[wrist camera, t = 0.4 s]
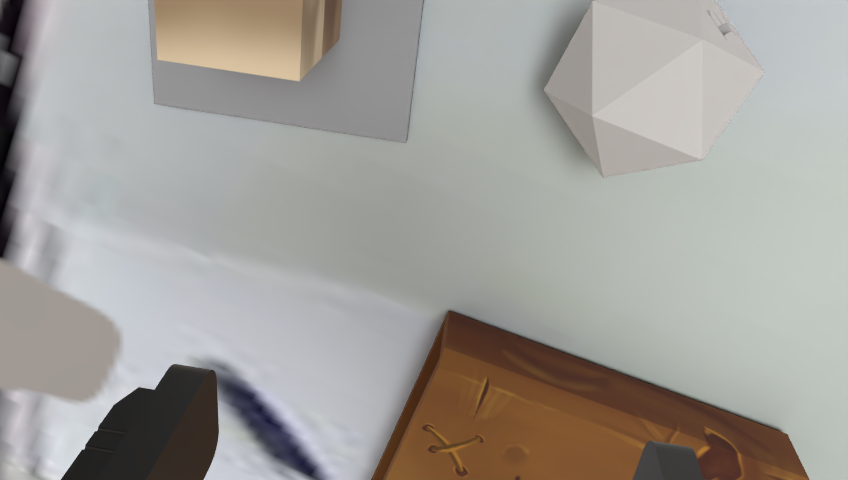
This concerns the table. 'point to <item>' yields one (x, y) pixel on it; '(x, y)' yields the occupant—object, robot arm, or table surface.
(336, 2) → the walnut block
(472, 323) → the diary
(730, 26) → the die
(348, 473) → the table surface
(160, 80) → the slate mat
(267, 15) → the oak block
